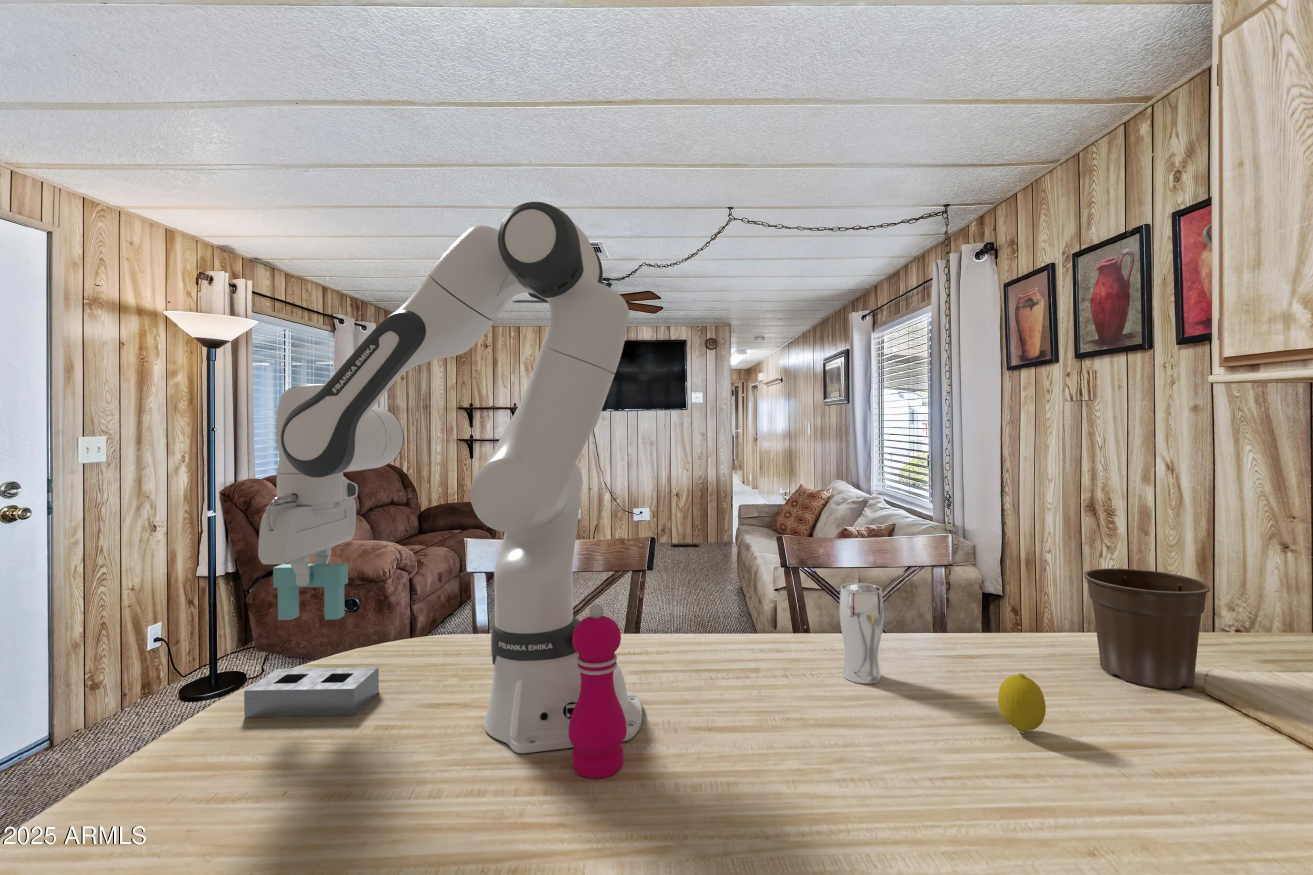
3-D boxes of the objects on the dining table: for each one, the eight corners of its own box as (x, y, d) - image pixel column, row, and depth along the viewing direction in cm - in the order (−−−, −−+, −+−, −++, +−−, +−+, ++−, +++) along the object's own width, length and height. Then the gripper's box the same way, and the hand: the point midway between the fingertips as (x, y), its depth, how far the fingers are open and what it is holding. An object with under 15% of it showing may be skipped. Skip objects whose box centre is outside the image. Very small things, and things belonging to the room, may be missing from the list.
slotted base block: (378, 691, 96) (378, 667, 96) (354, 715, 88) (353, 688, 88) (278, 693, 96) (277, 668, 95) (244, 717, 88) (244, 690, 87)
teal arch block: (348, 614, 93) (347, 563, 93) (340, 619, 90) (339, 566, 90) (283, 615, 92) (282, 564, 92) (273, 620, 90) (273, 567, 90)
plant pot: (1099, 686, 95) (1099, 585, 95) (1073, 651, 110) (1072, 564, 110) (1231, 703, 89) (1231, 595, 89) (1184, 664, 104) (1184, 571, 104)
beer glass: (887, 673, 101) (887, 585, 101) (878, 688, 95) (878, 595, 95) (846, 665, 105) (845, 580, 105) (834, 679, 99) (834, 589, 99)
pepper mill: (618, 784, 70) (616, 614, 70) (560, 777, 71) (558, 611, 71) (633, 751, 77) (631, 597, 77) (579, 746, 79) (578, 595, 78)
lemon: (1042, 727, 82) (1041, 669, 82) (1049, 746, 77) (1048, 685, 77) (996, 719, 85) (995, 663, 85) (1000, 737, 80) (999, 678, 80)
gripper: (291, 498, 81) (292, 600, 81) (363, 484, 101) (363, 566, 101) (244, 498, 81) (245, 600, 81) (325, 485, 101) (326, 566, 101)
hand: (311, 581), depth 91 cm, fingers closed on teal arch block, 2 cm apart
